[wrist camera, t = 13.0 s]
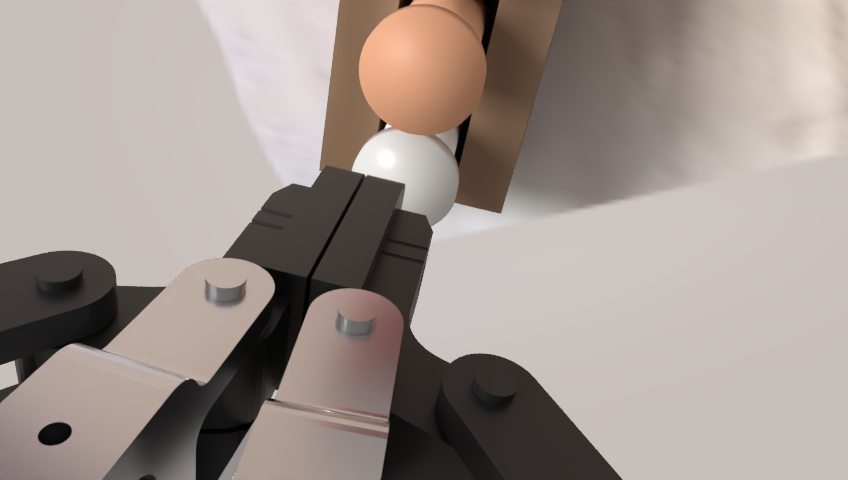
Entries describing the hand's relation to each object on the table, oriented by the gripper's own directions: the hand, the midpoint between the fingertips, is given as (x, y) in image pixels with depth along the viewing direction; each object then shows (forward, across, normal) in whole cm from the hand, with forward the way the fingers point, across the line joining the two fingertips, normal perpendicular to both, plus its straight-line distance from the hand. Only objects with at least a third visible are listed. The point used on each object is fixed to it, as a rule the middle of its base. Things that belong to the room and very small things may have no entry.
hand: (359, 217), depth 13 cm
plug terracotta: (+17, 0, 0) cm, 17 cm away
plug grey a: (+19, 0, +4) cm, 20 cm away
